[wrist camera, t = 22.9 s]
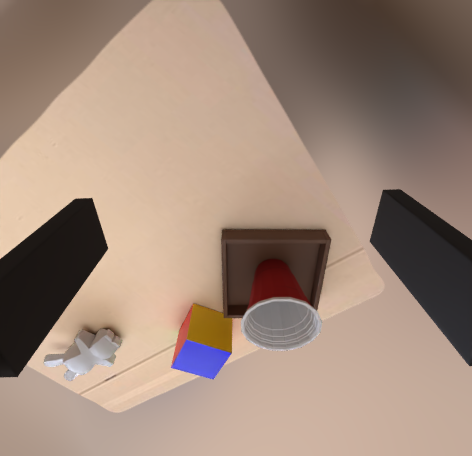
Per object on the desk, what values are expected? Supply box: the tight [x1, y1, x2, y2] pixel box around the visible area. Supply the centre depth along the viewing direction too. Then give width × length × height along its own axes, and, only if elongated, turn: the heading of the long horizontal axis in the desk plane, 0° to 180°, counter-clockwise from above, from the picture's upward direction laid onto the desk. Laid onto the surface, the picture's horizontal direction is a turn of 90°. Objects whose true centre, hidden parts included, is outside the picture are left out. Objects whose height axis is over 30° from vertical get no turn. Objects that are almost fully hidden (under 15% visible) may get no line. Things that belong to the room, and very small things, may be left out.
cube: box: [171, 303, 232, 379], centre depth 50 cm, size 8×8×8 cm
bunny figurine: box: [44, 329, 122, 381], centre depth 54 cm, size 10×5×15 cm
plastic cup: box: [241, 259, 322, 351], centre depth 41 cm, size 11×11×12 cm
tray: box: [221, 230, 331, 318], centre depth 46 cm, size 16×16×3 cm
